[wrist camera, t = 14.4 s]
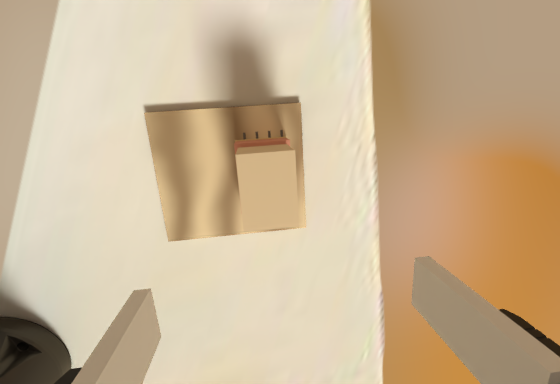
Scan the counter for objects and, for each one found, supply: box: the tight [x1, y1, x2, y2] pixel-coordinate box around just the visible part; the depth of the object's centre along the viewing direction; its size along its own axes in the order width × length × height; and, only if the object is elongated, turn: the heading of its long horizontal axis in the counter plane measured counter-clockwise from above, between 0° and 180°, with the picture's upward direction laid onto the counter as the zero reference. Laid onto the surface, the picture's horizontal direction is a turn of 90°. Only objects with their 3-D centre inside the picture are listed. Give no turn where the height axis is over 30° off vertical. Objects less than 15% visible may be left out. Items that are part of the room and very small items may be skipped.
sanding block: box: [234, 136, 299, 232], centre depth 30 cm, size 6×8×10 cm
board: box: [144, 103, 306, 241], centre depth 34 cm, size 18×16×1 cm
